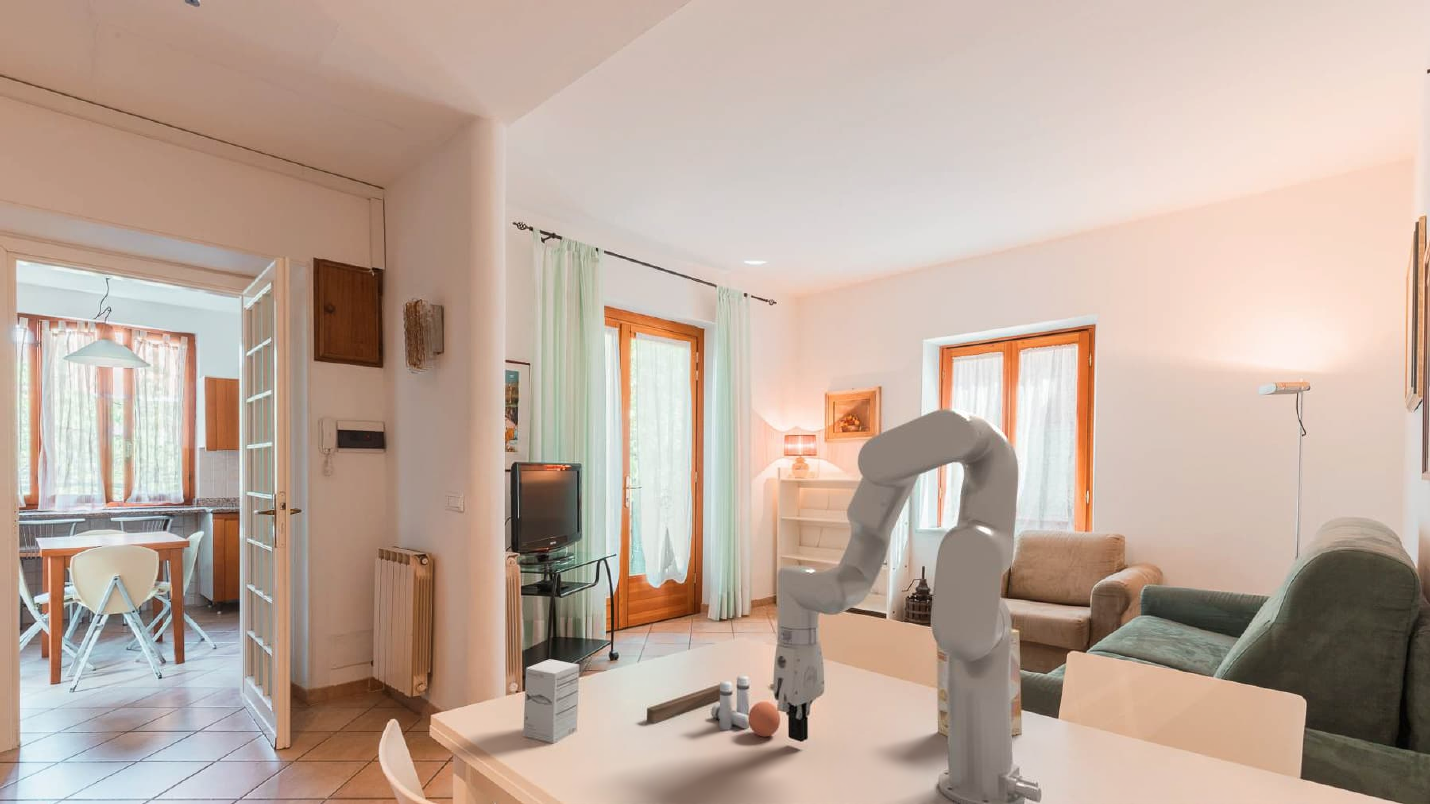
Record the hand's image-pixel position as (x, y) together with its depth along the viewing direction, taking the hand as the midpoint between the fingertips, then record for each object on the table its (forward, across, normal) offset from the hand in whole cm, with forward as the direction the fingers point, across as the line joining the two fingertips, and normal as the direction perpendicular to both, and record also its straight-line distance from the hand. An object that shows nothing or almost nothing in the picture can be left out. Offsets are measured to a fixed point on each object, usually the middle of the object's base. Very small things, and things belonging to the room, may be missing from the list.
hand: (798, 738), depth 125 cm
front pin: (0, 0, +12) cm, 12 cm away
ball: (-2, 0, +8) cm, 8 cm away
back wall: (+2, 0, +28) cm, 28 cm away
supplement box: (+2, -28, +37) cm, 46 cm away
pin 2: (+2, +2, +16) cm, 16 cm away
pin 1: (+2, -2, +16) cm, 16 cm away
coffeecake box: (+2, +30, -21) cm, 37 cm away
